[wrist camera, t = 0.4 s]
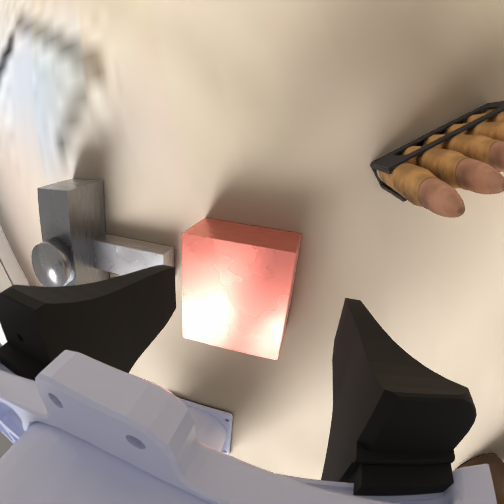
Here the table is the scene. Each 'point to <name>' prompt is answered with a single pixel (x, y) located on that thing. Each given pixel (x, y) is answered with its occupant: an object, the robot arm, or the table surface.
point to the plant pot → (500, 472)
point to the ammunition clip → (448, 162)
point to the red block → (238, 285)
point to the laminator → (9, 271)
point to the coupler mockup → (85, 238)
